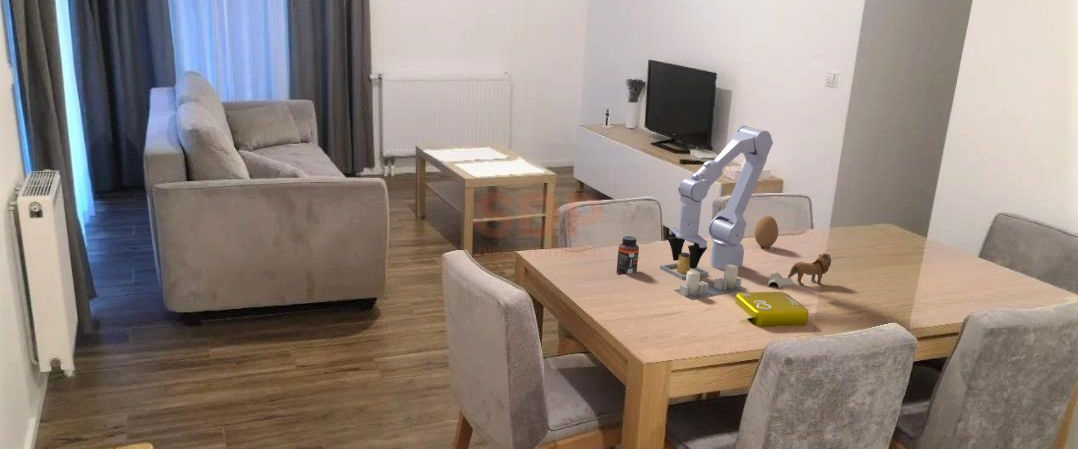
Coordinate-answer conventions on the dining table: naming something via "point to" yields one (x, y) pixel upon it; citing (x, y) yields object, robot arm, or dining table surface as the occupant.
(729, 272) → the cream fuse
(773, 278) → the pipe fitting
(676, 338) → the dining table surface
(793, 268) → the lion figurine
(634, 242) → the supplement bottle
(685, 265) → the cylinder
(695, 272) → the cream fuse
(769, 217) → the egg
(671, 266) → the grey tray
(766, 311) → the element tile
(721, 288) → the fuse block
